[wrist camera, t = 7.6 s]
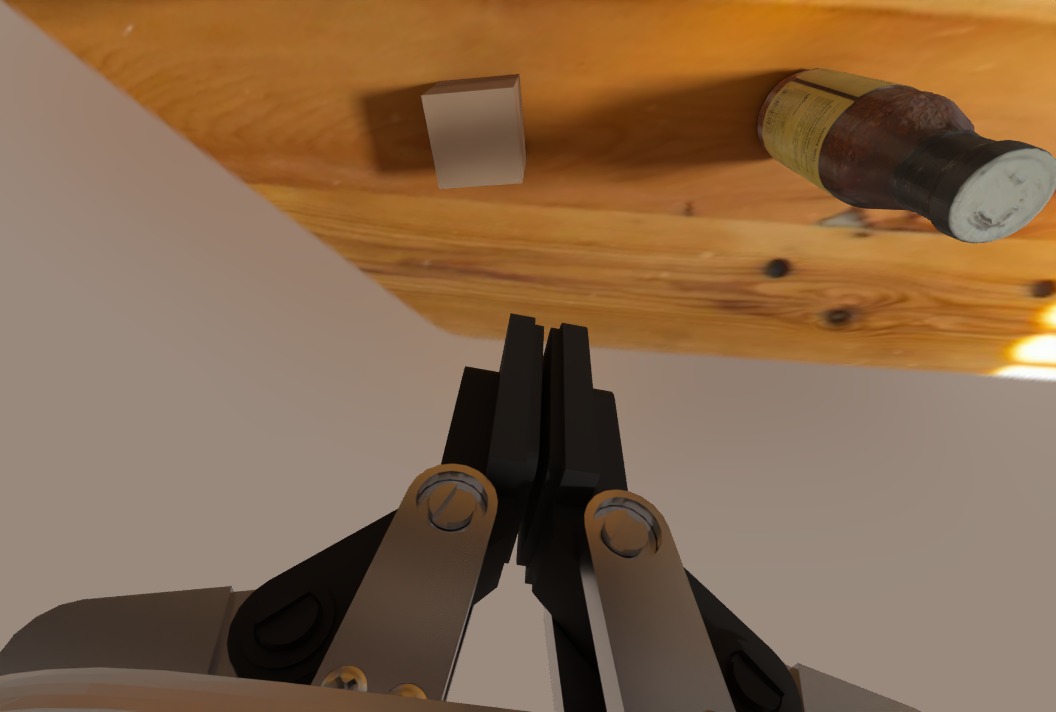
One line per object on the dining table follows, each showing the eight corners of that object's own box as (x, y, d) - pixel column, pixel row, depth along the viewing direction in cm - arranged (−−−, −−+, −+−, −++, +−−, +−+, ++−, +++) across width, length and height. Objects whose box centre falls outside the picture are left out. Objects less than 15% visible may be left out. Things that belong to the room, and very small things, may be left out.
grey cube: (439, 81, 36) (421, 95, 31) (519, 74, 35) (513, 87, 31) (453, 164, 40) (439, 189, 35) (526, 159, 39) (522, 183, 34)
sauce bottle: (769, 173, 39) (916, 300, 23) (740, 101, 36) (886, 190, 20) (857, 122, 36) (1091, 225, 20) (834, 40, 33) (1086, 87, 17)
